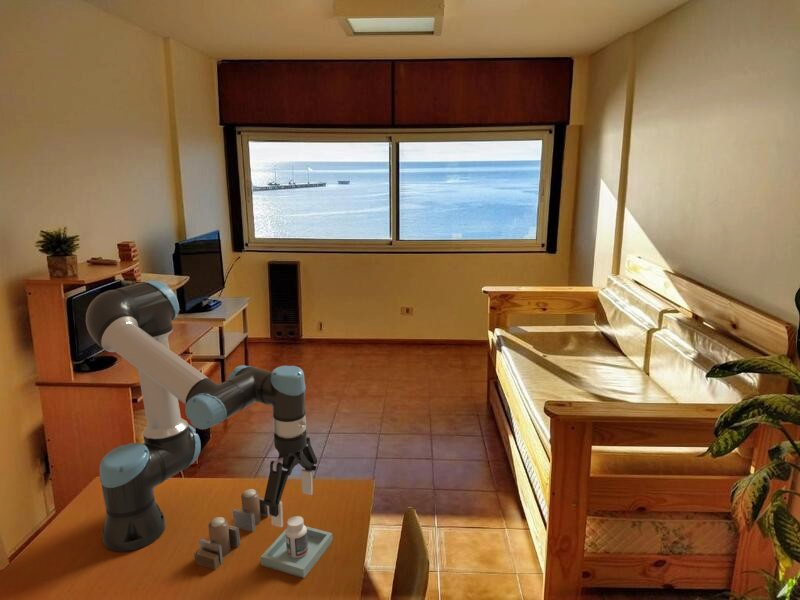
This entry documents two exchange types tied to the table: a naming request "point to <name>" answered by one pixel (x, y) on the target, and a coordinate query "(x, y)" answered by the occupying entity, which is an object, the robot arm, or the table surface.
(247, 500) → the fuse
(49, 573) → the table surface
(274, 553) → the tray
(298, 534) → the pill bottle
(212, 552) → the clip rail
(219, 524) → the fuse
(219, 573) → the table surface
